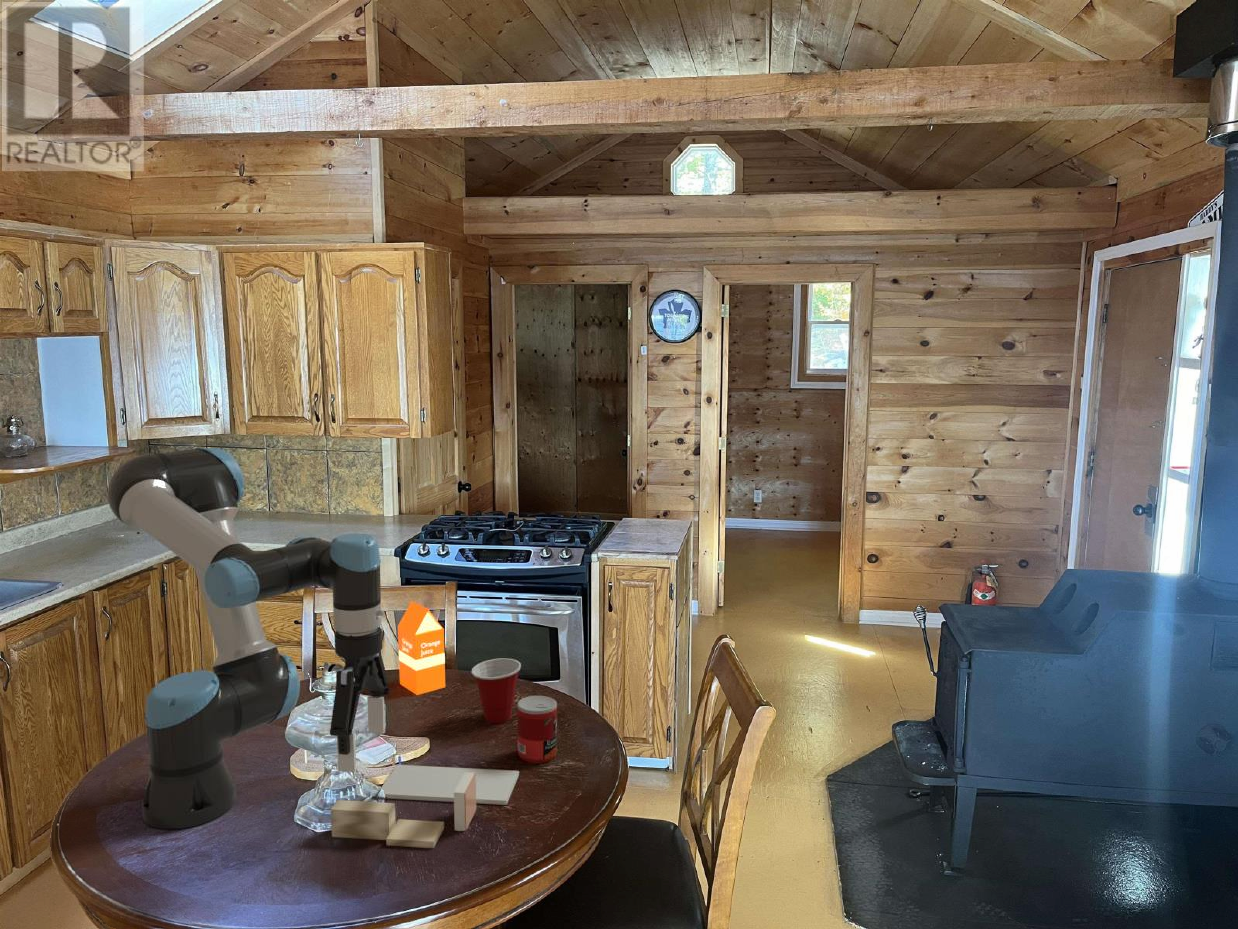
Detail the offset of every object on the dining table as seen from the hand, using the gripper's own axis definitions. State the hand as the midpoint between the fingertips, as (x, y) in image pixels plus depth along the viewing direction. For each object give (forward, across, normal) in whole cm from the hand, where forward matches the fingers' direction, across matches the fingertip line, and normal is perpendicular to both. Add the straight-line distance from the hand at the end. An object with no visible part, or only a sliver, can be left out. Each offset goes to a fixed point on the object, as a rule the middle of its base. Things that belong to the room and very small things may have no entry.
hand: (362, 750), depth 149 cm
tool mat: (+15, +16, -10) cm, 24 cm away
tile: (+15, +5, -16) cm, 22 cm away
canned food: (+15, +30, -24) cm, 41 cm away
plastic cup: (+15, +46, -13) cm, 50 cm away
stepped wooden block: (+15, -1, -4) cm, 15 cm away
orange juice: (+15, +63, +9) cm, 65 cm away
